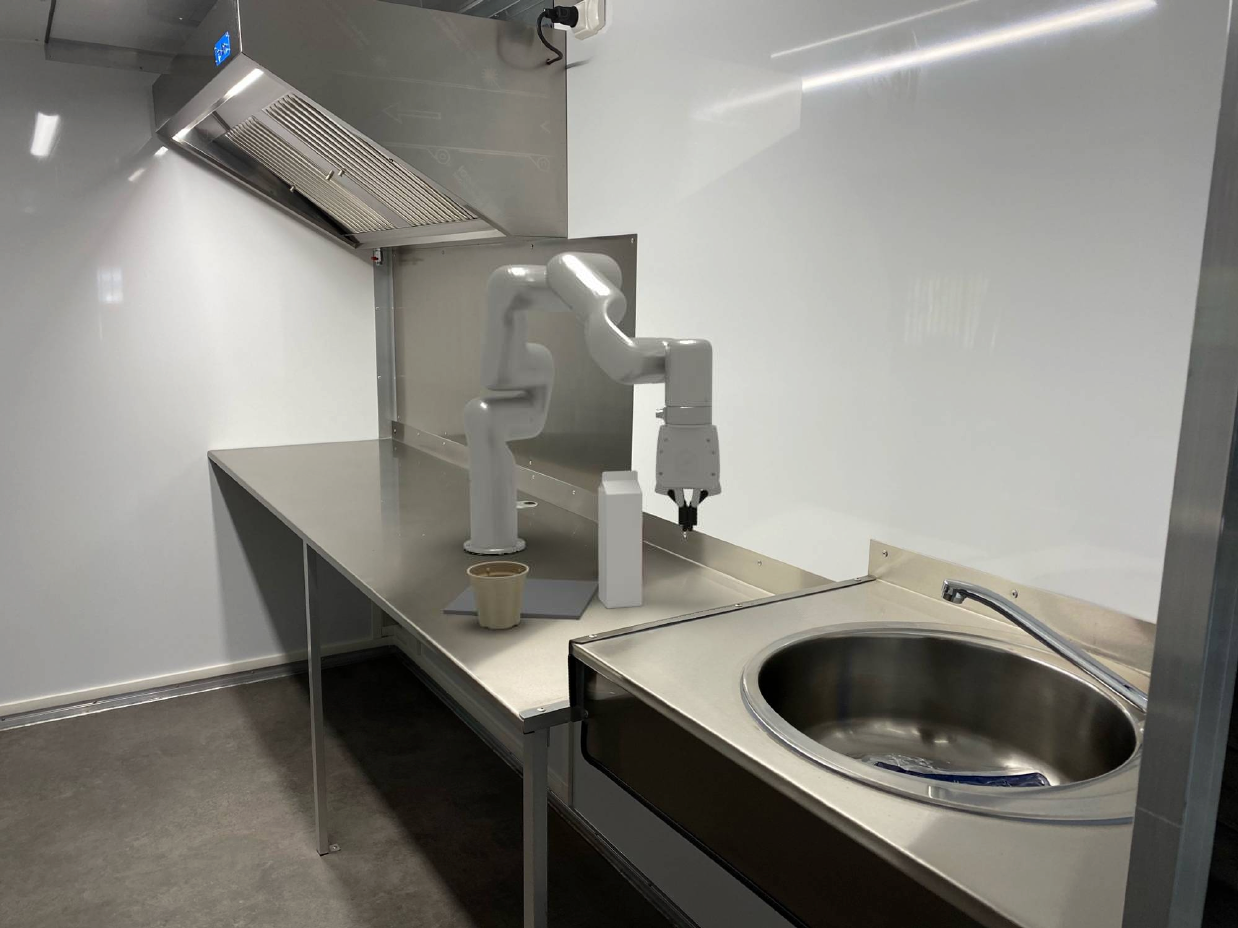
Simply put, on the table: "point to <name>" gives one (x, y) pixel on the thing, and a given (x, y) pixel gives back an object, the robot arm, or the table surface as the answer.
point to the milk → (620, 539)
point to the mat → (539, 599)
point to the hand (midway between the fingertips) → (687, 529)
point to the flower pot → (498, 592)
